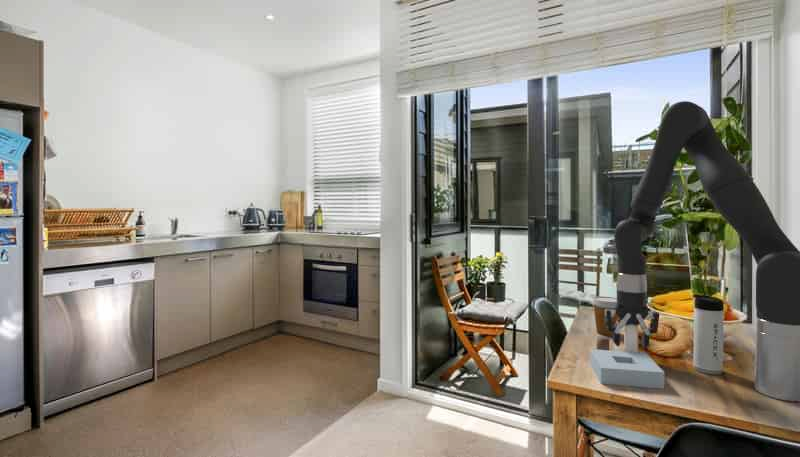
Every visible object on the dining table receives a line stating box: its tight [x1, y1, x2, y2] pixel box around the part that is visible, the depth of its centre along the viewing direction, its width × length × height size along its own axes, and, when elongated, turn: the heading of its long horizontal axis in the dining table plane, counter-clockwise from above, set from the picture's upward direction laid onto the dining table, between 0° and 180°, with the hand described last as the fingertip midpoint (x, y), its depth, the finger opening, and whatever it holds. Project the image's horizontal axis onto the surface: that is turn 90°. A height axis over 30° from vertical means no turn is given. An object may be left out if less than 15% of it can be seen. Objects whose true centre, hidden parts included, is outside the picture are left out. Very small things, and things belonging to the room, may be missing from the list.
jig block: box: [589, 348, 665, 390], centre depth 108 cm, size 14×14×4 cm
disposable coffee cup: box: [591, 296, 619, 337], centre depth 144 cm, size 10×10×12 cm
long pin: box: [623, 324, 639, 352], centre depth 119 cm, size 3×3×10 cm
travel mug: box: [692, 293, 725, 376], centre depth 110 cm, size 6×7×20 cm
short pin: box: [596, 336, 610, 350], centre depth 123 cm, size 3×3×5 cm
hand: (630, 346), depth 120 cm, fingers open, 6 cm apart
